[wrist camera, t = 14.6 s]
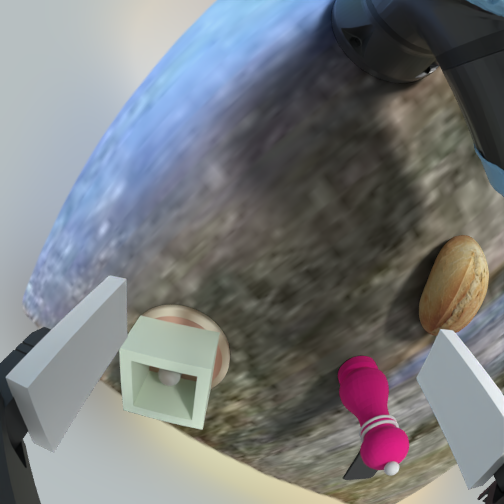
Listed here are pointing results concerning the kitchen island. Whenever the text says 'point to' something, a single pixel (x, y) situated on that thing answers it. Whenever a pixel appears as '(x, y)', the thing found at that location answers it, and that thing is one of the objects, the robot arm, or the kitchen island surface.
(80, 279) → the kitchen island surface
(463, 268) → the bread roll
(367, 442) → the pepper mill
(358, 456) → the phone
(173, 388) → the square ring
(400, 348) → the kitchen island surface
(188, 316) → the post stand
